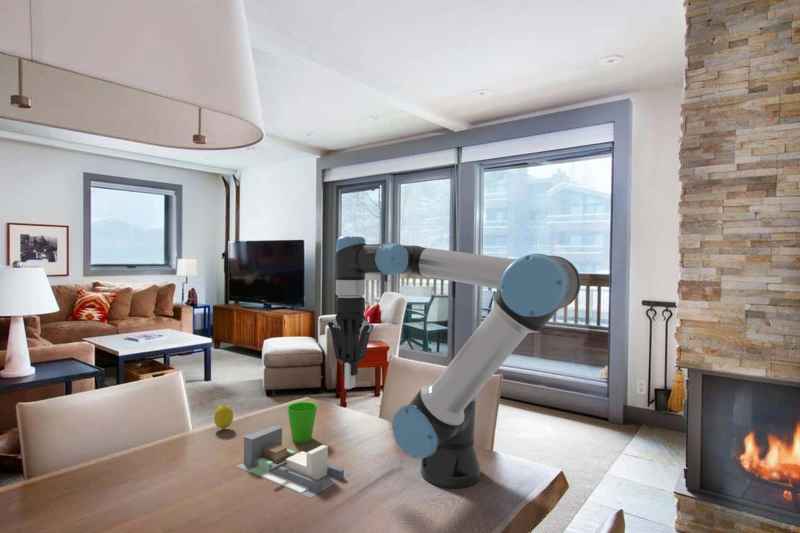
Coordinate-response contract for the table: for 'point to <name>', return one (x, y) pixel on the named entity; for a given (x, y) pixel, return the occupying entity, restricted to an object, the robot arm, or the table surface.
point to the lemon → (223, 417)
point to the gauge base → (283, 475)
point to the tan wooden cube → (276, 453)
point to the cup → (302, 420)
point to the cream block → (308, 462)
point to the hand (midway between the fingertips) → (349, 387)
